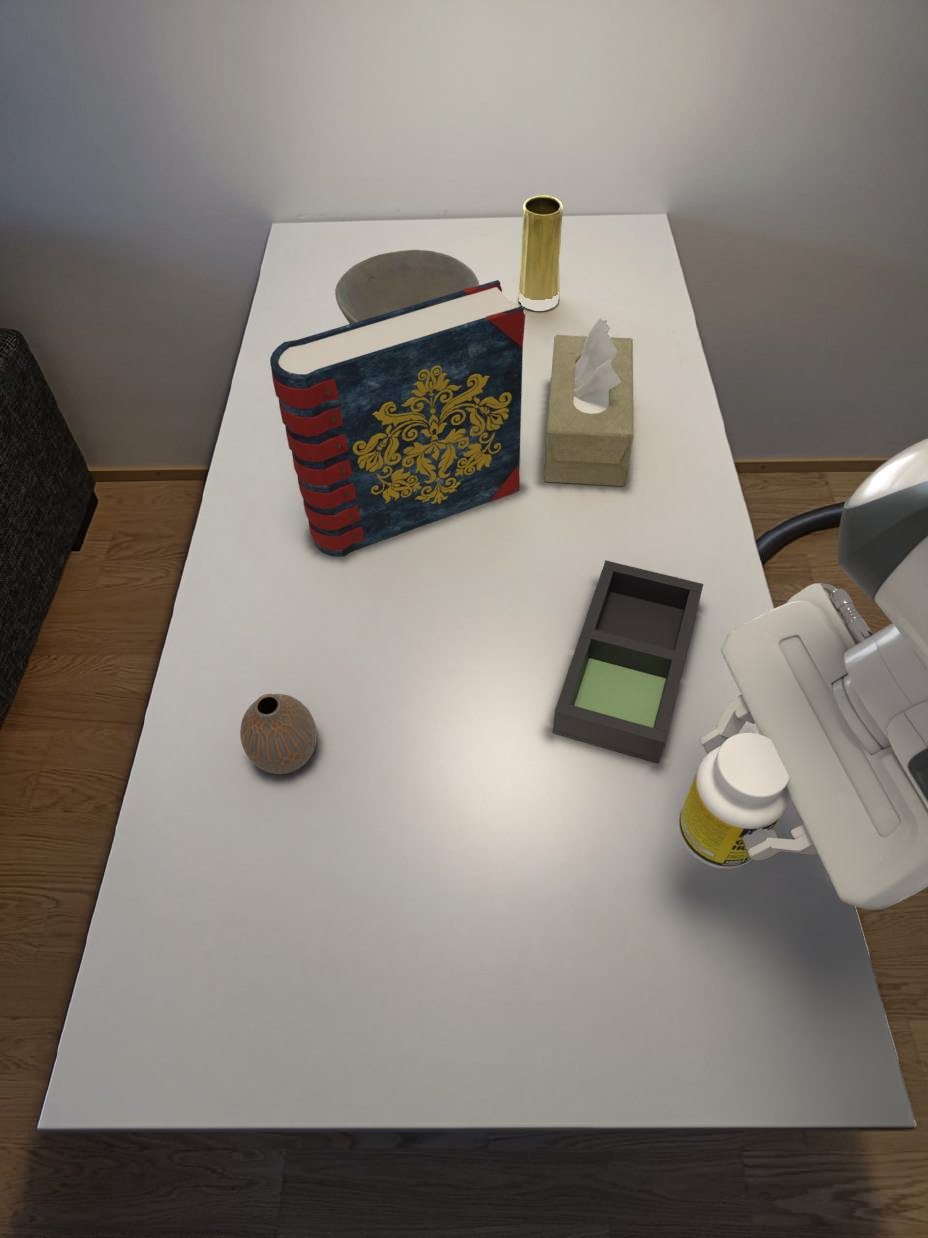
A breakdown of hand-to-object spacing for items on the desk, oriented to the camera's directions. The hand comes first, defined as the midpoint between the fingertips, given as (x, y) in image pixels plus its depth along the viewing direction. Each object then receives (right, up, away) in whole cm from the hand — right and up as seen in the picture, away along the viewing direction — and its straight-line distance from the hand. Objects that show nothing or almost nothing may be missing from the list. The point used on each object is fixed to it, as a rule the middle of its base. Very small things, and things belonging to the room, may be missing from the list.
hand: (728, 799), depth 61 cm
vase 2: (-7, +59, +68) cm, 90 cm away
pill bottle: (+1, -4, +5) cm, 6 cm away
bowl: (-25, +49, +61) cm, 83 cm away
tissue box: (-3, +36, +50) cm, 62 cm away
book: (-24, +25, +43) cm, 56 cm away
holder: (-2, +7, +29) cm, 30 cm away
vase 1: (-35, -1, +24) cm, 43 cm away
